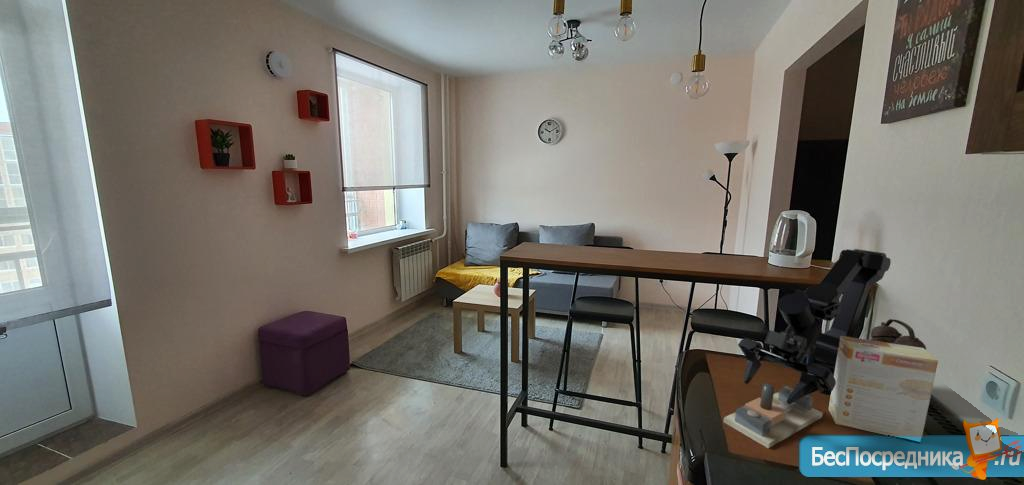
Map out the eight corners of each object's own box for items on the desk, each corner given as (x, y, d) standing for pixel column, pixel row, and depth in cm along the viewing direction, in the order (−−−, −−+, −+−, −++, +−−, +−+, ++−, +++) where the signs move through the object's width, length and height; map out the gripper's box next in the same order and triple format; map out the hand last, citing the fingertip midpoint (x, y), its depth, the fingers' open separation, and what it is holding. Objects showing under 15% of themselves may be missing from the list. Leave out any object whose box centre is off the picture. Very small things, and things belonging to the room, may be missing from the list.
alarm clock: (926, 410, 97) (943, 334, 94) (892, 407, 99) (907, 331, 95) (884, 380, 111) (898, 313, 108) (855, 377, 113) (867, 311, 109)
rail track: (777, 396, 103) (779, 380, 102) (822, 417, 94) (825, 399, 93) (723, 422, 92) (725, 404, 91) (768, 448, 83) (770, 429, 82)
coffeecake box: (907, 425, 91) (923, 347, 88) (922, 444, 85) (940, 360, 81) (826, 408, 98) (839, 334, 94) (835, 424, 91) (849, 345, 88)
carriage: (758, 404, 94) (762, 376, 93) (785, 418, 89) (790, 388, 88) (743, 411, 91) (747, 382, 90) (771, 426, 86) (775, 395, 85)
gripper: (747, 306, 97) (714, 357, 93) (838, 333, 80) (802, 396, 77) (761, 330, 102) (730, 380, 98) (849, 361, 86) (816, 421, 82)
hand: (765, 392), depth 89 cm, fingers open, 9 cm apart
